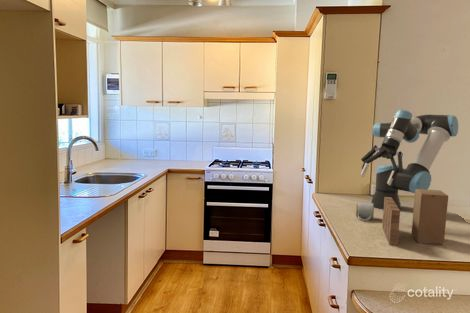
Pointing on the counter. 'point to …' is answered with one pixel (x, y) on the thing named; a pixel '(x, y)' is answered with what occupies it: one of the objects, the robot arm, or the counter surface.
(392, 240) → the walnut board
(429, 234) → the wooden block
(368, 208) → the ceramic mug
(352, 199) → the counter surface
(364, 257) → the counter surface
